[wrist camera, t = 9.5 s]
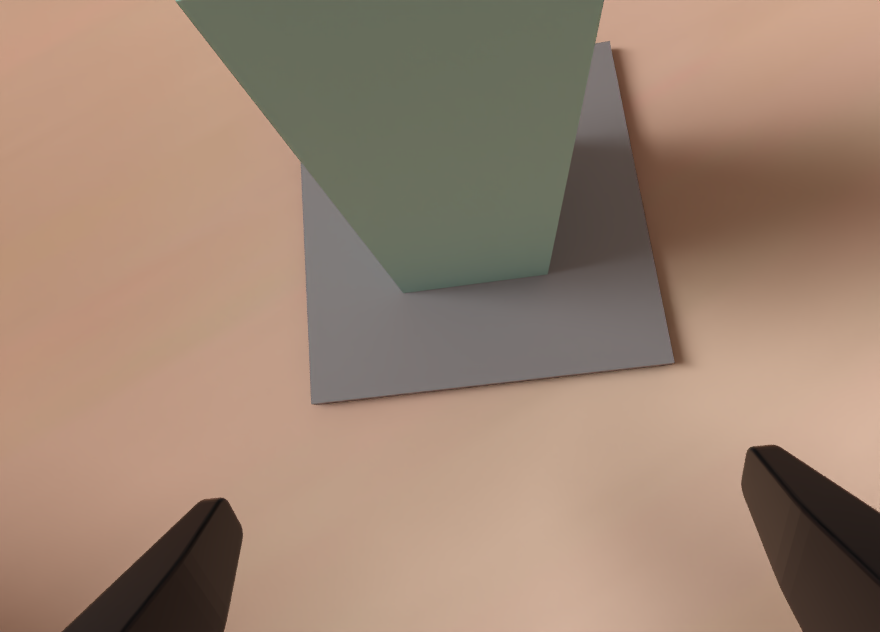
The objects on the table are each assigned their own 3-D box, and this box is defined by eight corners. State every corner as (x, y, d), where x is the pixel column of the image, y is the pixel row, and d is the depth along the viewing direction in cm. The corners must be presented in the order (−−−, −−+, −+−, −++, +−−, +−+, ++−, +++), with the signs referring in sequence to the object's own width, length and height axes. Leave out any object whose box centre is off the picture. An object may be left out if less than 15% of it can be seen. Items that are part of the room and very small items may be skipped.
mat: (607, 48, 20) (609, 41, 20) (671, 364, 17) (674, 362, 17) (301, 103, 21) (297, 96, 21) (315, 404, 19) (311, 404, 18)
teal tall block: (550, 273, 18) (631, -90, 6) (403, 293, 19) (175, 1, 6) (530, 141, 19) (561, -407, 7) (392, 163, 20) (182, -306, 7)
